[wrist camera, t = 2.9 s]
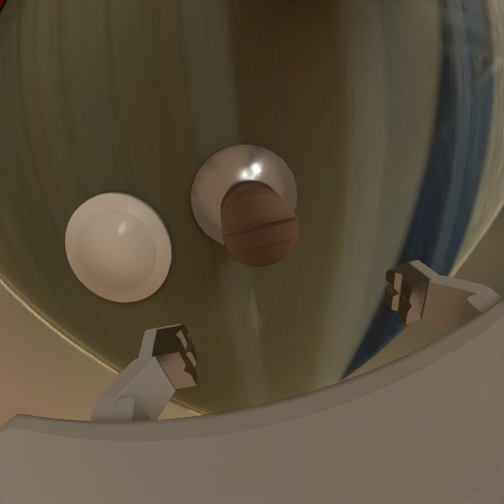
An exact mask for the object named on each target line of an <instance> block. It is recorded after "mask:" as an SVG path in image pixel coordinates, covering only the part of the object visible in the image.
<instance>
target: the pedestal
mask: <svg viewBox="0 0 504 504" xmlns="http://www.w3.org/2000/svg"><path fill="white" fill-rule="evenodd" d="M247 180H256V181H261V182H263V183H266V184H267V185H269V186H270V187H271V188H272V189H273V190H274V191H276V192H277V193H278V194H279V195H280V196H281V197H282V198H283V199H284V200H285V201H286V202H287V203H288V204H289V205H290V206H291V207H292V209H293V210H294V212H295V209H296V204H297V186H296V181H295V178H294V176H293V174H292V172H291V170H290V168H289V167H288V165H287V164H286V163H285V162H284V161H283V160H282V158H280V157H279V156H278V155H277V154H275V153H273V152H272V151H270V150H268V149H266V148H263V147H260V146H256V145H249V144H239V145H233V146H229V147H226V148H224V149H221V150H219V151H218V152H216V153H214V154H213V155H212V156H210V157H209V158H208V159H207V160H206V161H205V162H204V163H203V165H202V166H201V167H200V169H199V170H198V172H197V174H196V176H195V179H194V182H193V185H192V189H191V206H192V211H193V214H194V217H195V219H196V221H197V223H198V224H199V226H200V227H201V229H202V230H203V231H204V232H205V233H206V234H207V235H208V236H209V237H211V238H212V239H214V240H215V241H217V242H219V243H221V244H223V245H225V244H224V241H223V234H222V225H221V215H220V207H221V202H222V199H223V197H224V195H225V194H226V192H227V191H228V190H229V189H230V188H231V187H233V186H234V185H236V184H237V183H240V182H242V181H247Z"/></svg>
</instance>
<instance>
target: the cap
mask: <svg viewBox="0 0 504 504" xmlns="http://www.w3.org/2000/svg"><path fill="white" fill-rule="evenodd" d="M220 215H221V225H222V234H223V241H224V244H225V246H226V248H227V250H228V252H229V253H230V254H231V255H232V256H233V257H234V258H235V259H236V260H238V261H239V262H241V263H243V264H246V265H249V266H255V267H262V266H268V265H271V264H274V263H276V262H278V261H280V260H282V259H283V258H284V257H285V256H286V255H288V254H289V252H290V251H291V250H292V248H293V247H294V245H295V243H296V241H297V238H298V237H299V236H300V231H299V224H298V219H297V216H296V214H295V212H294V210H293V209H292V207H291V206H290V205H289V204H288V203H287V202H286V201H285V200H284V199H283V198H282V197H281V196H280V195H279V194H278V193H277V192H276V191H274V190H273V189H272V188H271V187H270V186H269V185H267V184H266V183H263V182H261V181H256V180H247V181H242V182H240V183H237V184H236V185H234V186H233V187H231V188H230V189H229V190H228V191H227V192H226V194H225V195H224V197H223V199H222V202H221V207H220Z"/></svg>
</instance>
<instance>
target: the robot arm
mask: <svg viewBox="0 0 504 504" xmlns="http://www.w3.org/2000/svg"><path fill="white" fill-rule="evenodd" d="M386 280H387V282H388V284H387V286H386V288H385V299H386V302H387V304H388V306H389V307H390V308H391V309H392V310H395V311H397V316H398V317H399V318H400V319H401V320H402V321H403V322H404V324H405V325H406V324H409V323H411V322H413V321H416V320H418V319H421V318H422V320H424V321H427V322H429V323H431V324H433V325H435V326H438V327H440V328H442V329H444V330H447V331H449V332H450V333H448V334H446V335H444V336H442V337H441V338H439V339H437V340H435V341H433V342H431V343H429V344H427V345H426V346H424V347H422V348H420V349H418V350H416V351H414V352H411V353H409V354H408V355H405V356H403V357H401V358H399V359H396V360H394V361H392V362H390V363H387V364H385V365H383V366H380V367H378V368H375V369H373V370H371V371H368V372H365V373H363V374H360V375H358V376H355V377H353V378H350V379H347V380H344V381H341V382H339V383H336V384H333V385H330V386H327V387H324V388H320V389H317V390H314V391H311V392H307V393H304V394H301V395H297V396H294V397H290V398H286V399H282V400H278V401H274V402H270V403H266V404H262V405H257V406H253V407H248V408H243V409H238V410H232V411H227V412H221V413H215V414H208V415H201V416H194V417H186V418H176V419H165V420H157V419H158V417H159V416H160V414H161V412H162V411H163V409H164V408H165V406H166V405H167V403H168V401H169V400H170V398H171V397H172V395H173V394H174V392H175V389H179V388H185V387H191V386H196V385H197V372H196V370H195V368H194V366H195V365H196V364H197V357H196V352H195V348H194V345H193V343H192V340H190V339H189V338H187V336H188V331H187V329H186V327H185V325H184V324H177V325H171V326H165V327H159V328H154V329H148V330H146V331H145V332H144V336H143V340H142V344H141V348H140V352H139V356H138V359H134V360H133V361H132V362H131V363H130V364H129V365H128V366H127V367H126V368H125V369H124V370H123V371H122V372H121V373H120V374H119V375H118V376H117V377H116V379H114V380H113V381H112V382H111V384H110V385H108V387H107V388H106V389H105V390H104V391H103V392H102V393H101V394H100V395H99V396H98V397H97V398H96V402H95V405H94V409H93V413H92V416H91V420H90V421H76V420H64V419H54V418H45V417H37V416H32V415H26V414H18V415H16V416H14V417H13V418H11V419H10V420H8V421H7V422H6V423H5V424H4V425H2V426H1V427H0V504H504V298H501V297H500V296H499V295H498V294H497V293H495V292H494V291H493V290H492V289H490V288H489V287H487V286H485V285H481V284H477V283H473V282H468V281H464V280H460V279H456V278H452V277H447V276H443V275H442V276H439V275H438V274H436V273H435V272H434V271H432V270H431V269H430V268H428V267H427V266H426V265H424V264H423V263H422V262H420V261H419V260H414V261H411V262H409V263H407V264H404V265H401V266H398V267H395V268H392V269H390V270H388V271H387V273H386Z"/></svg>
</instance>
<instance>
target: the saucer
mask: <svg viewBox="0 0 504 504" xmlns="http://www.w3.org/2000/svg"><path fill="white" fill-rule="evenodd" d="M65 247H66V254H67V257H68V261H69V263H70V266H71V268H72V270H73V272H74V273H75V275H76V276H77V278H78V279H79V280H80V281H81V282H82V283H83V284H84V285H85V286H86V287H87V288H88V289H89V290H91V291H92V292H93V293H95V294H97V295H98V296H101V297H103V298H105V299H108V300H111V301H116V302H135V301H139V300H142V299H144V298H146V297H148V296H150V295H152V294H153V293H154V292H155V291H157V290H158V289H159V287H160V286H161V285H162V284H163V282H164V281H165V279H166V277H167V274H168V271H169V268H170V264H171V260H172V242H171V238H170V234H169V231H168V229H167V226H166V225H165V223H164V221H163V219H162V218H161V216H160V215H159V214H158V213H157V212H156V210H155V209H154V208H153V207H151V206H150V205H149V204H148V203H147V202H145V201H143V200H142V199H140V198H138V197H136V196H134V195H131V194H128V193H123V192H106V193H102V194H99V195H97V196H94V197H92V198H91V199H89V200H88V201H86V202H85V203H83V204H82V205H81V206H80V207H79V208H78V209H77V210H76V211H75V212H74V214H73V215H72V217H71V219H70V221H69V223H68V226H67V230H66V236H65Z"/></svg>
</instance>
